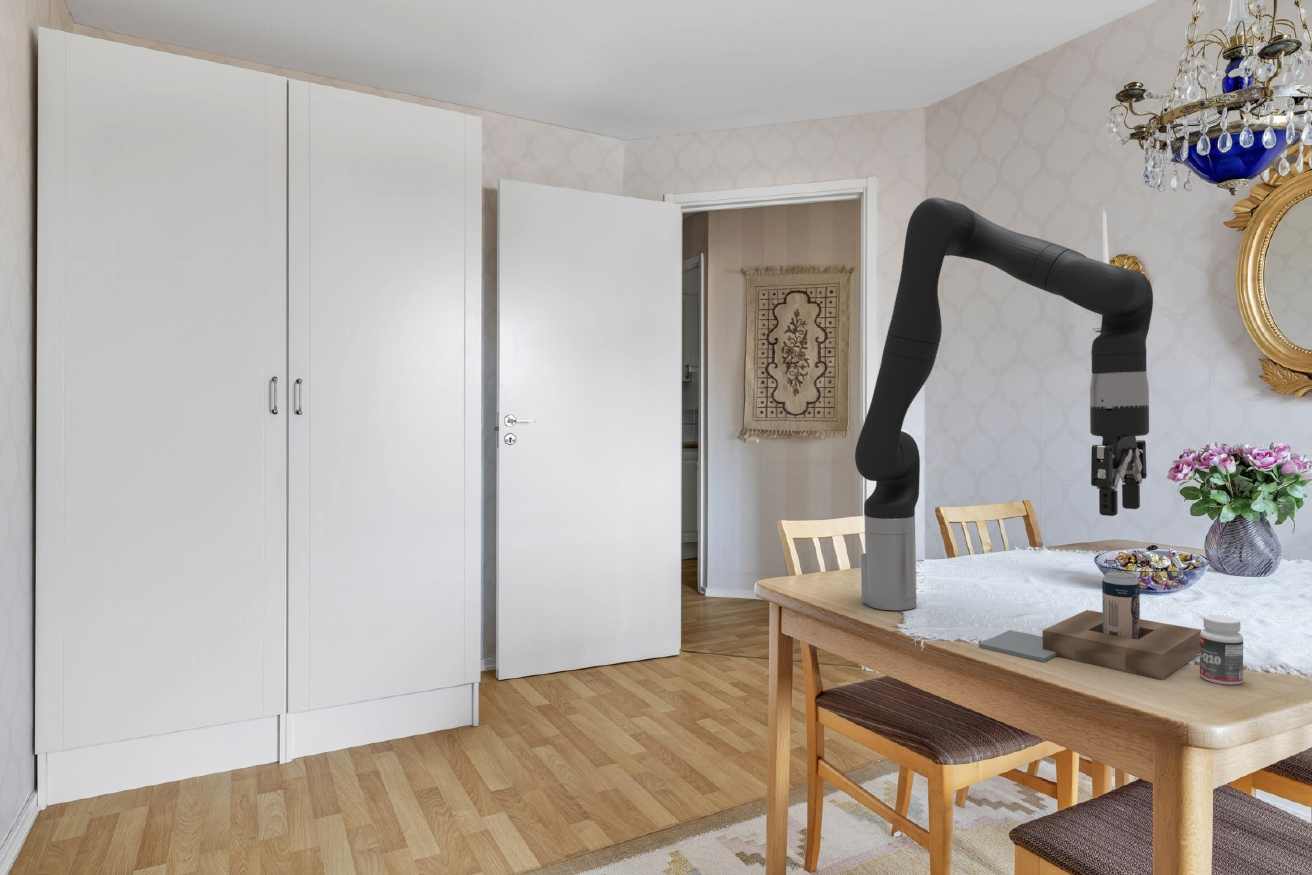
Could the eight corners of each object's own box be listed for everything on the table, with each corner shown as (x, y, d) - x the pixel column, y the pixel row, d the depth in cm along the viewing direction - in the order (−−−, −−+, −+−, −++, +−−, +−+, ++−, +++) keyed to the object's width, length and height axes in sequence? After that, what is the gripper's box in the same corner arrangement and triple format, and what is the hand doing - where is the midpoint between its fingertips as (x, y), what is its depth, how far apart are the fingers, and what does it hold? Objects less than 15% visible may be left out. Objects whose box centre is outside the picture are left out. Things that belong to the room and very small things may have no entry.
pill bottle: (1191, 674, 106) (1191, 614, 106) (1223, 672, 107) (1223, 612, 106) (1219, 686, 102) (1218, 624, 101) (1252, 684, 102) (1252, 622, 102)
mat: (979, 647, 121) (979, 643, 121) (1010, 633, 127) (1010, 629, 127) (1044, 662, 113) (1044, 658, 113) (1073, 646, 119) (1073, 643, 119)
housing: (1042, 652, 117) (1042, 630, 117) (1087, 630, 127) (1087, 609, 127) (1162, 679, 105) (1162, 654, 105) (1201, 652, 115) (1201, 629, 115)
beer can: (1145, 658, 113) (1145, 578, 113) (1109, 657, 114) (1109, 577, 114) (1132, 648, 118) (1131, 570, 117) (1098, 647, 119) (1097, 570, 118)
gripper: (1110, 403, 122) (1111, 504, 122) (1071, 405, 113) (1072, 515, 113) (1165, 401, 116) (1165, 508, 117) (1128, 404, 107) (1129, 520, 108)
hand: (1119, 511), depth 115 cm, fingers open, 8 cm apart
